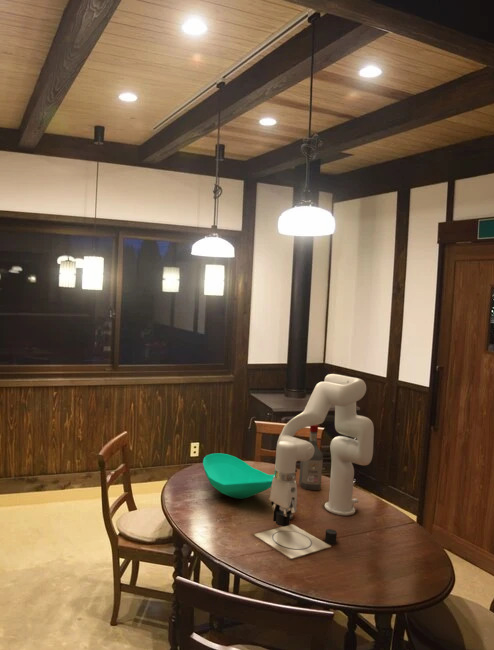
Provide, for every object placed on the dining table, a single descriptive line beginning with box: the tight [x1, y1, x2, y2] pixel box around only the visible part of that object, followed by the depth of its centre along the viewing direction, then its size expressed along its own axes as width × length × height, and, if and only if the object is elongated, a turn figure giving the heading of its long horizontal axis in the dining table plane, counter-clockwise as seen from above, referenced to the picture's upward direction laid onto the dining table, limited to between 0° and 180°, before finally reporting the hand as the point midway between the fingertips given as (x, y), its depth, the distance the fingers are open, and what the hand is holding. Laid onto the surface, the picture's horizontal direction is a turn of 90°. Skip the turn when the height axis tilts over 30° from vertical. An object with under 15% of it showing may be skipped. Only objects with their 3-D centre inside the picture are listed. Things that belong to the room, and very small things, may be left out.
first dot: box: [275, 511, 284, 527], centre depth 200 cm, size 4×4×4 cm
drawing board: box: [253, 523, 332, 560], centre depth 199 cm, size 20×20×1 cm
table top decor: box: [202, 452, 275, 500], centre depth 239 cm, size 40×28×13 cm
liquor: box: [298, 424, 324, 491], centre depth 255 cm, size 9×9×30 cm
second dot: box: [324, 528, 338, 545], centre depth 200 cm, size 4×4×4 cm
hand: (281, 522), depth 201 cm, fingers closed on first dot, 4 cm apart
